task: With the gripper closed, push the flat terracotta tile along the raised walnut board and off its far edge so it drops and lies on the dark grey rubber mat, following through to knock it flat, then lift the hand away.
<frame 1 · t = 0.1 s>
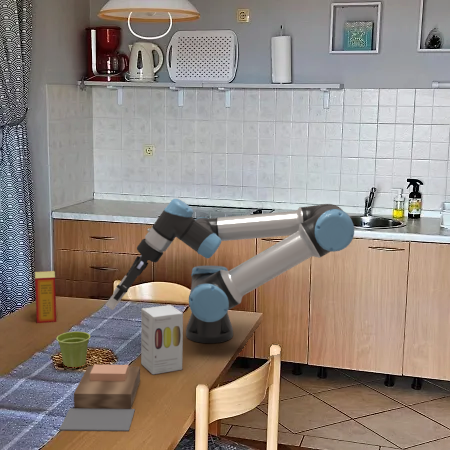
hand: (113, 300, 209), 15 cm above the table, tool tilted 35°, fingers open, 13 cm apart
tile: (109, 376, 181), point 4 cm above the table, touching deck
supplement box: (161, 367, 198), on the table
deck: (108, 393, 180), on the table
baking soda box: (46, 318, 241), on the table
plant pot: (74, 366, 198), on the table
mat: (98, 419, 165), on the table
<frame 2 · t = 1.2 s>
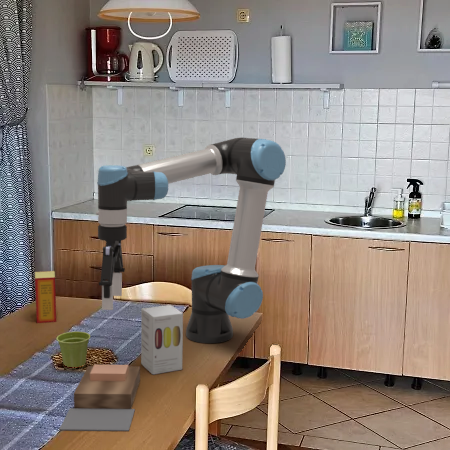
hand: (112, 302, 187), 21 cm above the table, tool pointing down, fingers open, 13 cm apart
nothing on the table moved.
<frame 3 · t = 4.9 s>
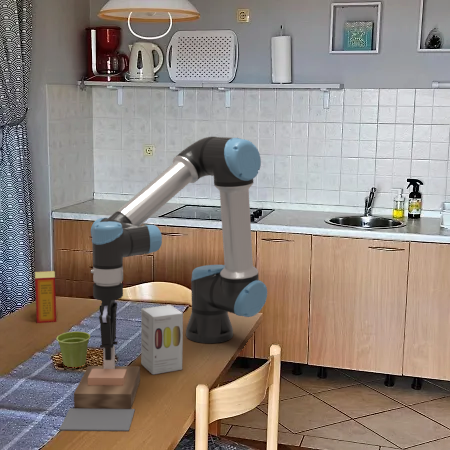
hand: (109, 369, 182), 5 cm above the table, tool pointing down, fingers closed
tile: (107, 380, 178), point 4 cm above the table, touching gripper
everything else where it was.
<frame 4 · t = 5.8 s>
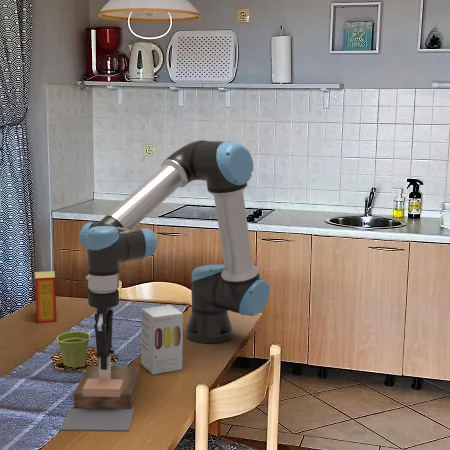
hand: (105, 379, 175), 5 cm above the table, tool pointing down, fingers closed
tile: (103, 391, 172), point 4 cm above the table, touching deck, gripper
everything else where it was.
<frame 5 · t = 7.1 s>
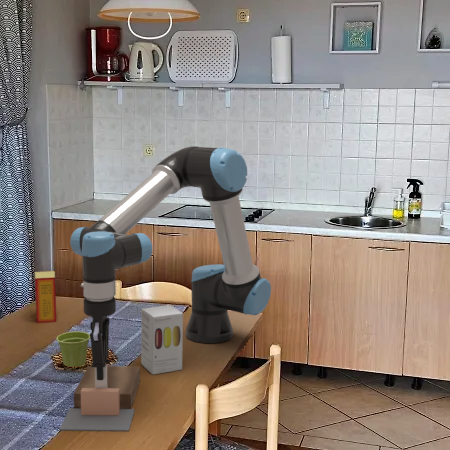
hand: (101, 390, 169), 5 cm above the table, tool pointing down, fingers closed
tile: (101, 399, 168), point 3 cm above the table, tilted 89°, touching mat
everything else where it was.
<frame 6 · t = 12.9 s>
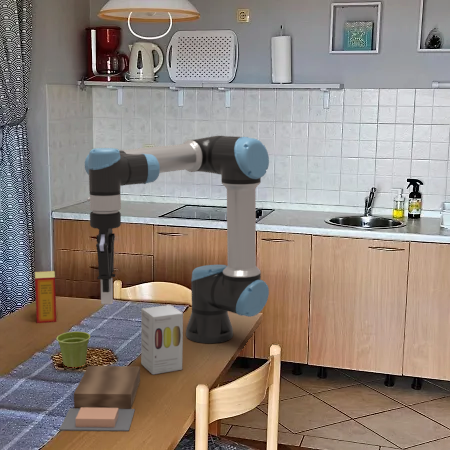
hand: (107, 303, 175), 24 cm above the table, tool pointing down, fingers closed
tile: (97, 413, 164), point 2 cm above the table, tilted 180°, touching mat
everything else where it was.
at the end: tile point 2.3 cm above the table; tile inside the target area on the mat (1.2 cm from its centre), point 2.3 cm above the mat's base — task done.
